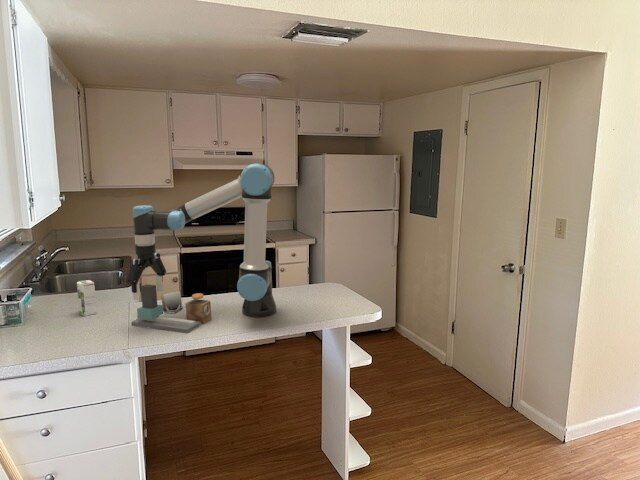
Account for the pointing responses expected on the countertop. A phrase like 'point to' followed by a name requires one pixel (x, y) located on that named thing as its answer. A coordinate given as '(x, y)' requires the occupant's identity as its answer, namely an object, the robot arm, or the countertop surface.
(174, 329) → the rail
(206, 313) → the gauge cabinet
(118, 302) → the countertop surface
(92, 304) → the syrup box
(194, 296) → the button
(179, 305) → the ceramic mug
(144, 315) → the carriage
